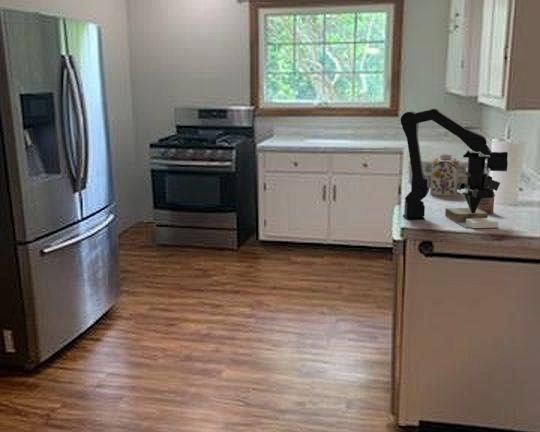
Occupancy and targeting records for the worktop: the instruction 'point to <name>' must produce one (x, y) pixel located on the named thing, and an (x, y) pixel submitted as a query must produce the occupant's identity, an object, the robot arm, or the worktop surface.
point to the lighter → (487, 204)
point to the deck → (464, 214)
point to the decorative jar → (444, 176)
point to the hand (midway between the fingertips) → (473, 213)
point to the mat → (463, 224)
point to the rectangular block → (482, 223)
